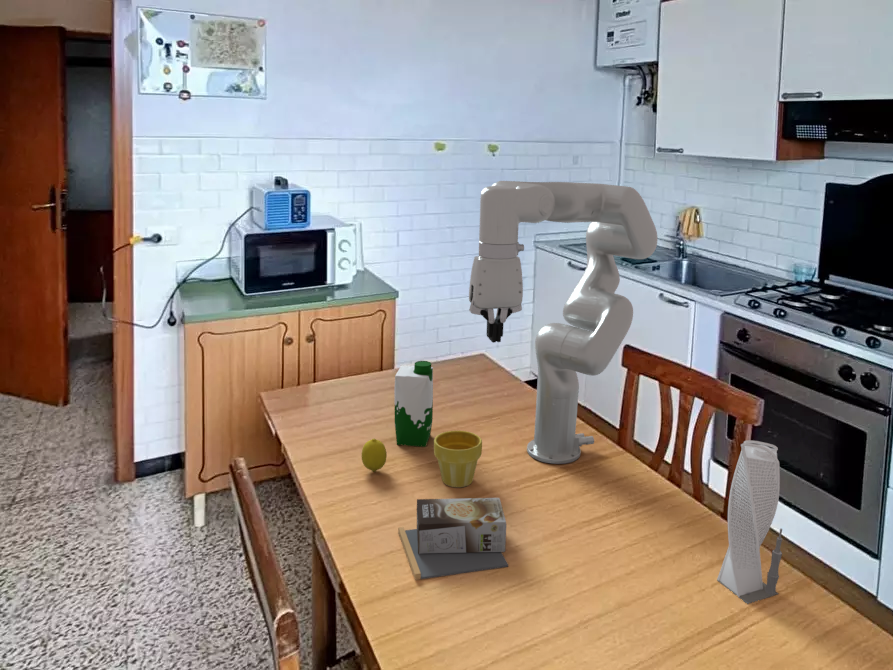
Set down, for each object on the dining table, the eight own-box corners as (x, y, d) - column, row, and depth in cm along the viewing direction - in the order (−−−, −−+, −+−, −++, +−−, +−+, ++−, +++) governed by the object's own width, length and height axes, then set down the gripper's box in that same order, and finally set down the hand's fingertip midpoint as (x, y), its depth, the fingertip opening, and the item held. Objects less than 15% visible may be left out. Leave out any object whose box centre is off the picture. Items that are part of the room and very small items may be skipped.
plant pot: (438, 467, 166) (439, 427, 163) (483, 471, 164) (485, 432, 162) (429, 489, 157) (429, 447, 154) (476, 494, 155) (478, 452, 152)
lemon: (382, 478, 161) (382, 445, 158) (358, 475, 162) (357, 442, 159) (389, 467, 166) (389, 434, 163) (366, 464, 167) (365, 432, 164)
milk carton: (428, 449, 175) (429, 370, 169) (391, 446, 176) (391, 367, 170) (434, 433, 183) (435, 358, 177) (399, 431, 184) (398, 355, 178)
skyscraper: (740, 607, 121) (765, 454, 113) (705, 579, 128) (726, 434, 120) (778, 595, 125) (804, 446, 116) (742, 569, 132) (765, 426, 123)
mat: (483, 522, 144) (483, 516, 144) (508, 566, 131) (508, 560, 130) (398, 533, 140) (398, 527, 140) (415, 580, 126) (415, 574, 126)
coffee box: (507, 522, 132) (418, 524, 131) (505, 552, 134) (417, 555, 133) (499, 496, 141) (416, 498, 139) (498, 525, 143) (415, 528, 141)
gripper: (527, 246, 148) (522, 332, 154) (455, 248, 145) (454, 337, 150) (540, 253, 141) (535, 343, 147) (466, 255, 138) (464, 348, 143)
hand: (494, 340), depth 148 cm, fingers closed
